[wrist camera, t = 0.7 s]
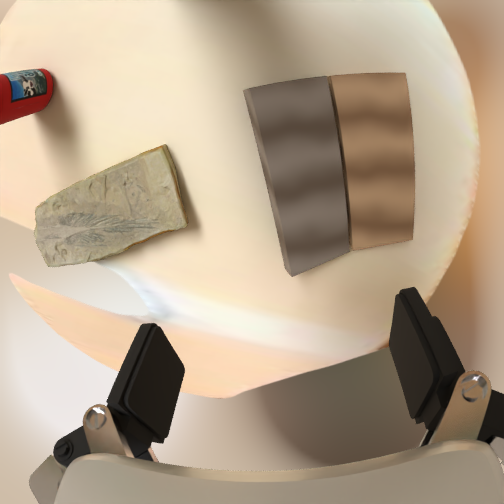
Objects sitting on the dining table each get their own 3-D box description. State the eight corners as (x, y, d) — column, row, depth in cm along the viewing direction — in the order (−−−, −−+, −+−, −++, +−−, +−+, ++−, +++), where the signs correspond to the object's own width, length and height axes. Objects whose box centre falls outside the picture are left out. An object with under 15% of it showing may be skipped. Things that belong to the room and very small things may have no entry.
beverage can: (63, 75, 25) (-1, 85, 15) (47, 117, 28) (-13, 140, 18) (36, 63, 23) (-24, 72, 13) (22, 103, 26) (-35, 122, 16)
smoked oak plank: (243, 90, 24) (249, 88, 23) (316, 77, 26) (326, 76, 24) (285, 268, 36) (291, 277, 34) (341, 245, 37) (349, 251, 35)
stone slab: (18, 218, 34) (151, 142, 27) (32, 207, 38) (165, 135, 31) (52, 276, 40) (192, 238, 33) (64, 263, 44) (201, 222, 37)
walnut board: (326, 76, 26) (330, 75, 24) (398, 72, 24) (405, 72, 22) (349, 242, 37) (352, 250, 35) (407, 232, 36) (412, 239, 34)
